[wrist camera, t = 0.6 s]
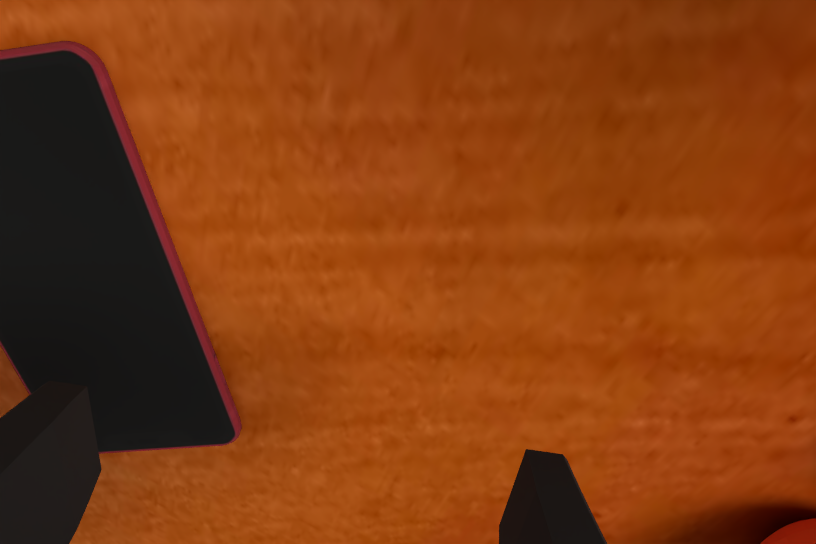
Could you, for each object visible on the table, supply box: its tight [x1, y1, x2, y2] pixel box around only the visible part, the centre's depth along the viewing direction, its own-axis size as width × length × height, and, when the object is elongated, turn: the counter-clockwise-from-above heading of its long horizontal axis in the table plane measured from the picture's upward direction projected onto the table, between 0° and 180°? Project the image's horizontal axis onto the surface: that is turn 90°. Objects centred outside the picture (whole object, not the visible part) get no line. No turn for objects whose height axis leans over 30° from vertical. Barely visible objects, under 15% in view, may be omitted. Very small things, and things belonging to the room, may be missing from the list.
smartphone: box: [0, 41, 241, 454], centre depth 23 cm, size 7×1×15 cm
